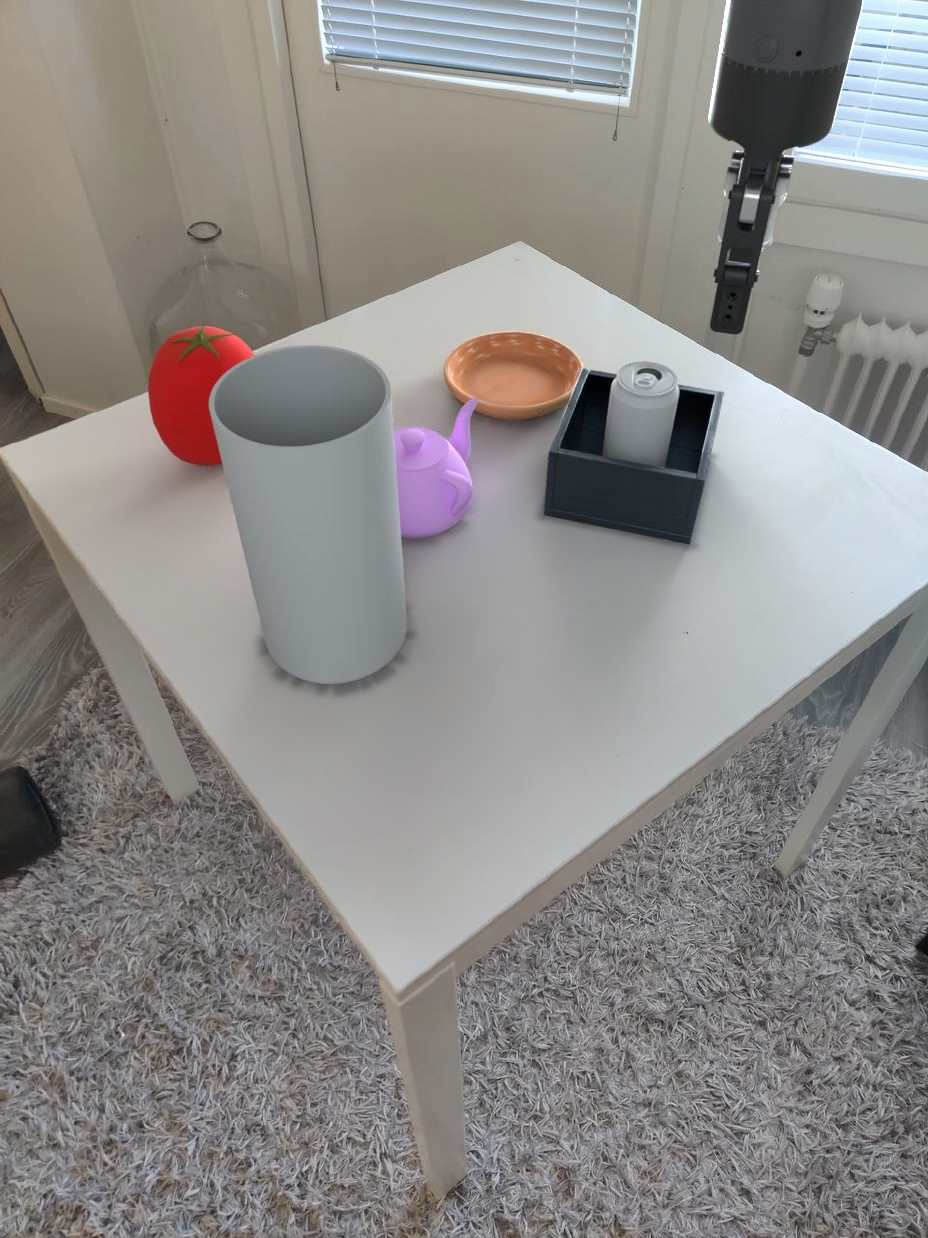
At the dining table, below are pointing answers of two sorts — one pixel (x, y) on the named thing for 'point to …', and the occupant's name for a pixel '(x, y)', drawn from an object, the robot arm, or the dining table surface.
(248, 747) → the dining table surface
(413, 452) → the teapot
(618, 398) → the beverage can
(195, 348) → the tomato
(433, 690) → the dining table surface
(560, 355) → the saucer
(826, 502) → the dining table surface
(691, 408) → the dark gray open box
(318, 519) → the cylinder vase
